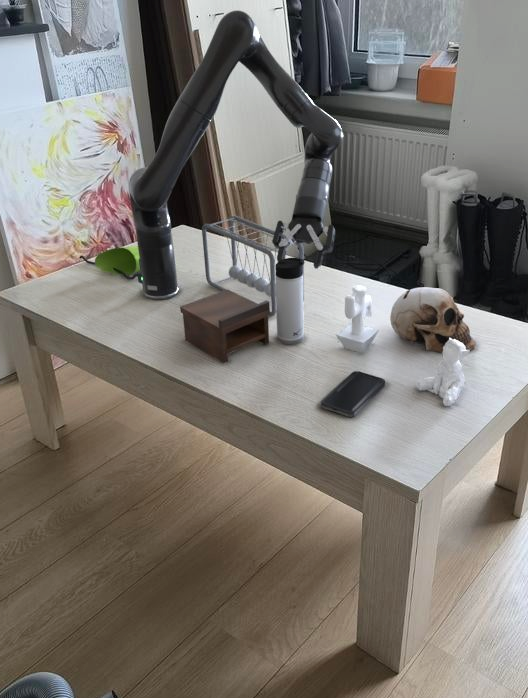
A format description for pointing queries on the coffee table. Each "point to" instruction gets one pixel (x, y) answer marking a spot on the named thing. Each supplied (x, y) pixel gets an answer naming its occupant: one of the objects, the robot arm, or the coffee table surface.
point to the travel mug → (289, 300)
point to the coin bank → (429, 319)
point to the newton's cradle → (243, 274)
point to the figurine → (357, 321)
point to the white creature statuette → (447, 373)
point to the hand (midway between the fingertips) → (298, 265)
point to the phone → (353, 393)
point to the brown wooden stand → (225, 323)
